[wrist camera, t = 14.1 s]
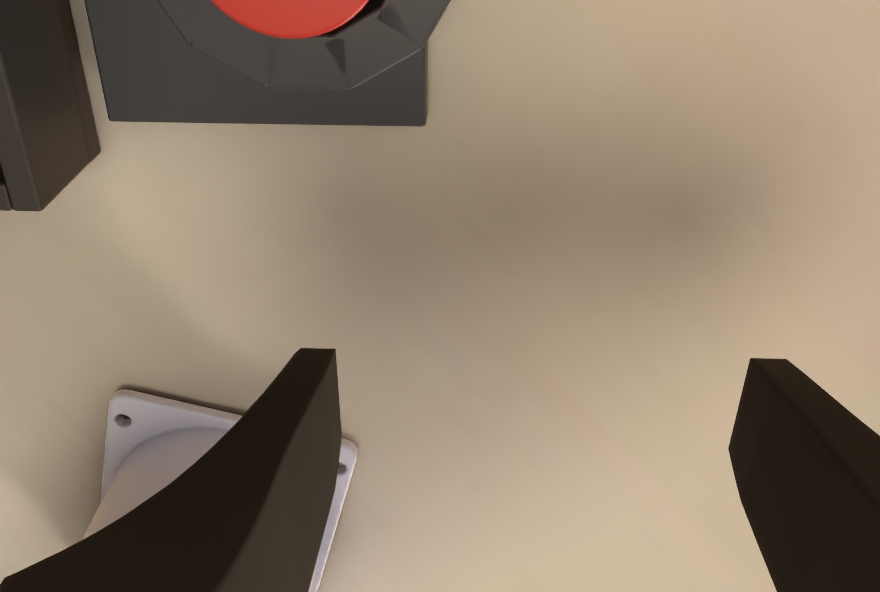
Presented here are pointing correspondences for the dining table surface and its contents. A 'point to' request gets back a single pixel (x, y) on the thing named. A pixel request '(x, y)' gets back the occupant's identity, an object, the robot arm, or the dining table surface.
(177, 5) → the button base
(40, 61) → the dark brown box
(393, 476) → the dining table surface
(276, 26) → the power button
